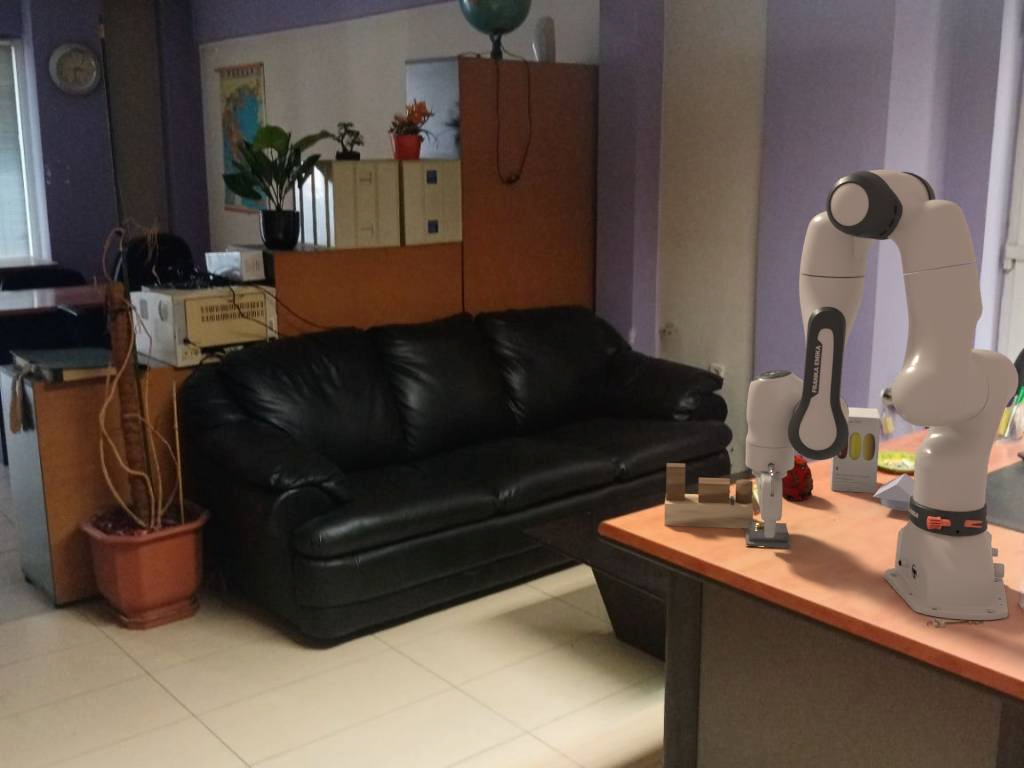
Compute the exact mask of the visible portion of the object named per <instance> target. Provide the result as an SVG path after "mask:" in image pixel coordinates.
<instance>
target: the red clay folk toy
mask: <svg viewBox="0 0 1024 768" xmlns="http://www.w3.org/2000/svg"><path fill="white" fill-rule="evenodd" d="M812 477H813V474H812V470H811V468H810V467H809V465H808V461H807V459H806V458H804V456H802V455H801V454H796V455H795V457H794V468H793V469H791V470H788V471H787V476H786V477H784V478H781V479H782V498H785V499H786V500H792V501H794V502H797V501H798V502H800V501H804V500H808V499H809V498H810V497H812V495H813V493H812V491H813V489H814V479H813V478H812Z"/></svg>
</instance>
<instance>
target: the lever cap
mask: <svg viewBox="0 0 1024 768" xmlns="http://www.w3.org/2000/svg"><path fill="white" fill-rule="evenodd" d="M787 526H788V525H787V523H785V522H783V523H782V522H776V525H775V535H774V537H773V538H766V537H765V536H764V521H761V522H760V521H753V522H748V537H749V541H762V542H784V543H787V541H788V534H789V530H788V527H787Z"/></svg>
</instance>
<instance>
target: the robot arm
mask: <svg viewBox="0 0 1024 768" xmlns="http://www.w3.org/2000/svg"><path fill="white" fill-rule="evenodd" d="M825 204H826V205H825V206H826V208H825V209H826V210H825V211H823V212H820V213H818V214H817V215H815V216H814V217H812V219H811V220H810V221H809V224H808V225H807V230H806V234H805V237H804V241H803V245H802V246H803V248H802V250H801V251H802V252H801V258H800V267H799V276H798V277H799V280H798V281H799V282H798V286H799V288H798V290H799V293H798V294H799V304H800V305H799V306H800V311H801V312H800V313H801V318H802V320H801V321H802V325H803V332H804V339H805V356H804V357H805V359H804V369H803V379H801V378H800V377H798V376H797V375H796V374H795V373H794V372H793V371H790V370H786V369H785V370H783V369H779V370H778V369H777V370H769V371H765V372H761V373H760V374H758V375H756V376H755V377H754V378H753V379H752V380H751V382H750V384H749V388H748V392H747V400H746V401H747V402H746V422H747V426H748V430H747V435H746V437H745V466H746V467H747V468H749V469H751V474H752V475H753V476H754V477H755V482H756V483H755V484H756V488H757V490H756V491H757V496H758V503H759V504H758V505H759V506H758V507H759V512H760V518H761V520H763V522H764V536H765V537H766V538H773V537H774V535H775V525H776V523H777V522H780V521H781V520H782V515H783V495H782V479H781V478H784V477H786V476H787V471H788V470H791V469H793V468H794V457H795V456H796V455H795V452H796V453H798V455H801V456H802V457H803V458H805V459H806V458H807V459H809V460H812V461H813V460H814V461H826V460H829V459H830V460H831V458H832V457H834V456H836V455H838V454H839V453H840V452H841V451H842V450H843V449H844V448H845V446H846V444H847V441H848V437H849V430H848V421H849V409H848V404H847V402H846V400H845V399H844V398H843V396H841V389H842V378H843V377H842V376H843V367H844V365H843V364H844V357H845V355H844V354H845V350H846V346H847V343H848V339H849V337H850V333H851V331H852V328H853V326H854V324H855V321H856V318H857V315H858V313H859V310H860V306H861V303H862V298H863V294H864V287H865V281H866V269H867V267H866V266H867V258H868V252H869V249H870V248H871V246H872V244H873V243H874V242H876V241H877V240H878V241H885V240H889V239H890V240H891V241H892V242H893V243H894V244H895V245H896V246H897V248H898V250H899V253H900V259H901V266H902V274H903V282H904V289H905V299H906V307H907V314H908V332H907V340H906V348H905V354H904V360H903V364H902V367H901V368H900V371H899V373H898V375H897V376H896V377H895V379H894V381H893V384H892V388H891V401H892V405H893V406H894V408H895V409H894V410H895V411H896V413H897V414H898V415H899V417H901V419H902V420H904V422H906V423H908V424H910V425H913V426H917V427H924V428H925V427H927V428H929V429H928V431H927V433H926V435H925V437H924V439H923V441H922V442H921V443H920V445H919V446H918V447H917V450H916V453H915V456H914V457H915V458H914V469H913V470H914V471H913V480H914V485H913V495H912V496H911V497H910V503H909V508H908V510H909V511H908V519H909V520H908V522H907V523H906V524H905V525H904V526H903V527H902V528H900V530H898V533H897V541H896V550H895V561H894V567H893V568H889V569H887V570H885V571H884V574H883V578H884V580H885V581H886V582H887V583H888V584H889V585H890V586H891V587H892V588H893V590H895V591H896V592H897V593H898V594H899V597H901V598H902V599H903V600H904V601H905V603H907V605H908V606H910V608H911V610H913V611H914V612H916V613H919V614H921V615H927V616H932V617H937V618H942V619H943V618H944V619H953V620H969V621H971V620H972V621H989V620H990V621H992V620H993V621H994V620H999V619H1005V618H1007V617H1008V616H1009V609H1008V601H1007V597H1006V596H1007V595H1006V590H1005V584H1004V577H1005V564H1004V563H1000V562H994V558H995V557H997V558H998V556H999V548H996V547H992V542H993V541H992V539H993V534H992V533H991V532H990V531H989V530H988V520H989V512H988V505H987V503H986V491H987V481H988V471H989V470H988V469H989V462H990V458H991V453H992V448H993V445H994V442H995V440H996V436H997V433H998V430H999V427H1000V424H1001V422H1002V418H1003V416H1004V412H1005V411H1006V408H1007V406H1008V404H1009V402H1010V401H1011V400H1012V398H1013V397H1014V396H1015V394H1016V392H1017V390H1018V386H1019V374H1018V371H1017V368H1016V366H1015V364H1014V363H1013V362H1012V360H1011V359H1010V358H1009V357H1008V356H1006V355H1005V354H1003V353H1001V352H998V351H993V350H989V349H982V348H981V349H980V348H973V342H974V335H975V330H976V328H977V325H978V322H979V320H980V319H981V317H982V314H983V308H984V307H983V306H984V305H983V300H982V291H981V286H980V278H979V272H978V271H979V269H978V264H977V258H976V252H975V247H974V242H973V239H972V235H971V231H970V227H969V224H968V222H967V219H966V216H965V214H964V213H965V212H964V211H963V209H962V208H961V207H960V205H958V204H957V203H955V202H953V201H950V200H947V199H936V193H935V192H934V189H933V187H932V186H931V184H930V183H929V182H928V181H927V180H926V179H925V178H923V177H922V176H920V175H919V174H916V173H913V172H909V171H894V170H890V169H874V170H873V169H872V170H858V171H854V172H851V173H848V174H847V175H845V176H843V177H841V178H840V179H838V181H836V182H835V183H834V185H832V187H831V189H829V192H828V195H827V198H826V203H825ZM993 557H994V558H993Z"/></svg>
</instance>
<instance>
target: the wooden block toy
mask: <svg viewBox="0 0 1024 768" xmlns="http://www.w3.org/2000/svg"><path fill="white" fill-rule="evenodd" d="M665 468H666V469H665V470H666V474H665V475H666V476H665V477H666V478H665V479H666V482H665V484H666V485H665V487H666V488H665V492H666V493H665V498H664V526H670V527H672V526H674V527H675V526H676V527H695V528H697V527H700V528H721V529H722V528H723V529H741V528H748V522H754V503H753V485H754V484H753V482H754V481H752V480H751V479H742V478H741V479H737V480H735V495H731V494H730V492H731V491H730V489H731V488H730V487H731V486H730V485H731V481H730V480H731V479H730V478H723V477H721V478H720V477H718V478H717V477H698V494H695V493H692V494H691V493H686V463H681V462H680V463H676V462H674V463H673V462H671V463H670V462H667V463H666V467H665Z"/></svg>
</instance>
